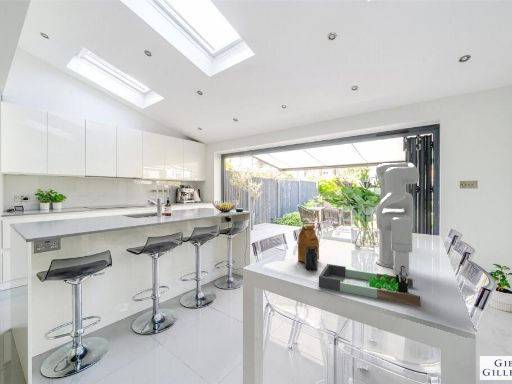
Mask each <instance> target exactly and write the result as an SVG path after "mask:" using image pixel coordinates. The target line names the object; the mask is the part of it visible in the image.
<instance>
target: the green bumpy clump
mask: <svg viewBox="0 0 512 384" xmlns="http://www.w3.org/2000/svg"><path fill="white" fill-rule="evenodd" d="M382 274H383V276H384V277H385V279H384V277H381V278H380V282H379V281H378V279H377V278H375V277H374V278H372V277H371V278H372V280H371V278H370V280H366V284H368V285H366V286H367V287H373V288H378V289H383V288H385V290H389V291H395V292H399V291H398V285H396V284H398V283H396V280H395V279H392V280H391V281H390V284H387V283H386V277H389V275H390V274H387V273H382ZM394 280H395V281H394ZM401 293H402V292H401Z"/></svg>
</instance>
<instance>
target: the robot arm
mask: <svg viewBox="0 0 512 384" xmlns="http://www.w3.org/2000/svg"><path fill="white" fill-rule="evenodd" d="M375 171H376V176H377V179H378V182H379V184H380V201H379V202H378V203H377V206H376V210H375V211H376V212H375V214H376V219H375V220H376V226H377V229H378V235H379V236H378V240H379V241H378V244H379V245H378V246H379V247H378V249H379V250H378V257H379V259H377V260H376V262H375V263H376V264H377V265H378V266H381V267H385V268H391V269H392V271H393V275H394V276H396V283H398V291H399V292H402V293H406V294H409V287H408V283H407V278H409V276H410V253H413V229H414V226H415V225H414V198H413V195H412V194H411V193H409V192H406V185H414V184H415V185H416V184H417V183H418V182H419V179H420V172H419V170H418V168H417V167H416V165H415V164H414V163H412V162H397V163H396V162H395V163H394V162H393V163H392V162H391V163H389V162H387V163H382V164H379V165H377V166H376V170H375ZM384 209H387V210H384Z"/></svg>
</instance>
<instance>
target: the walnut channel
mask: <svg viewBox="0 0 512 384" xmlns="http://www.w3.org/2000/svg"><path fill="white" fill-rule="evenodd" d="M376 273H377V272H376ZM383 274H384V273H377V279H378V281H379V283H380V278H381V277H384V276H383ZM388 275H389V277H386V284H388V285H390V281H391V280H392V279H395V280H396V275H392V274H388ZM384 279H385V277H384ZM395 280H394V281H395ZM407 283H408V288H414V279H413V278H410V277H407ZM397 285H398V284H396V286H397ZM376 299H380V300H385V301H389V302H395V303H399V304H405V305H410V306H414V307H419V308H421V296H420V295H416V294H411V293H401V292H396V290H394V291H393V290H392V291H389V290H386V289H383V288H382V289H378V288H377V298H376Z"/></svg>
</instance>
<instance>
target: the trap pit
mask: <svg viewBox="0 0 512 384" xmlns="http://www.w3.org/2000/svg"><path fill="white" fill-rule="evenodd" d="M345 269H347V267H346V266H343V265H337V264H330V263H327V264H326V265H325V266H324V269H323V270H322V271H321V272H320V274H319V276H318V287H320V288H324V289H329V290H334V291H338V292H341V291H340V282H344V281H345V279H346V276H345Z"/></svg>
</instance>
